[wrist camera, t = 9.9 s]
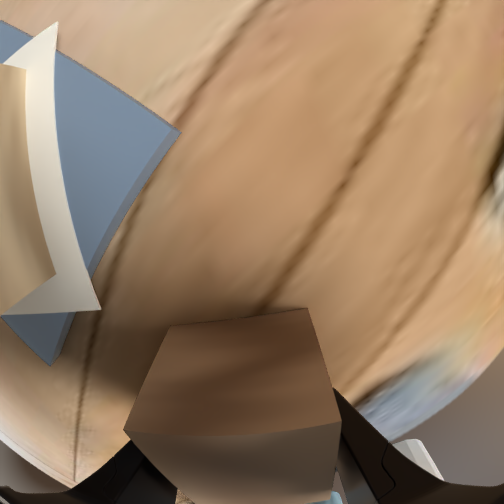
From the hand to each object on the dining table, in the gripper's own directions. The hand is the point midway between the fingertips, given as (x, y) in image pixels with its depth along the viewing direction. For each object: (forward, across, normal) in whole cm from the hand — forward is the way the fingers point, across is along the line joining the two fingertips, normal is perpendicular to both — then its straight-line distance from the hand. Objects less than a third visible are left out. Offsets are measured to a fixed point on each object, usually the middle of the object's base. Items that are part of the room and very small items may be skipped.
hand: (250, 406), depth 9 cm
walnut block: (+2, 0, 0) cm, 2 cm away
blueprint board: (+2, +13, -14) cm, 19 cm away
